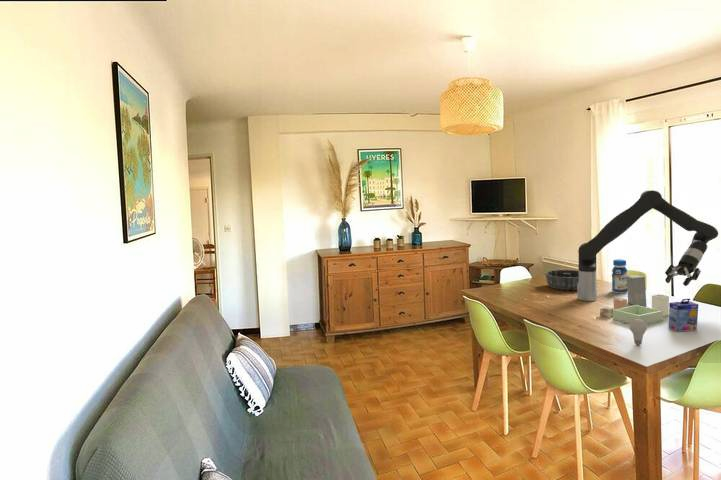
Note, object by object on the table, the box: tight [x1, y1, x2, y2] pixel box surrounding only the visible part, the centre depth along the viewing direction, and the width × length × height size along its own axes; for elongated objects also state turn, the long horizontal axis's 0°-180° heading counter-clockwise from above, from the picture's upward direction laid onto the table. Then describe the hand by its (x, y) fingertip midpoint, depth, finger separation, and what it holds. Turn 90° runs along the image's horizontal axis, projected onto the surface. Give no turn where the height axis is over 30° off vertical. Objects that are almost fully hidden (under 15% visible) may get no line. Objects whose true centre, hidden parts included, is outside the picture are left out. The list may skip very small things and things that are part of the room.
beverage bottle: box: [611, 258, 629, 294], centre depth 264 cm, size 8×8×20 cm
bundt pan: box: [544, 269, 579, 291], centre depth 284 cm, size 26×26×10 cm
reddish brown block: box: [613, 297, 628, 310], centre depth 222 cm, size 6×6×7 cm
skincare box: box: [626, 274, 647, 307], centre depth 236 cm, size 8×7×16 cm
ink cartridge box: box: [668, 298, 699, 333], centre depth 191 cm, size 10×6×14 cm, turn 95°
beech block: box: [599, 305, 614, 319], centre depth 218 cm, size 4×4×4 cm
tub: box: [612, 305, 664, 326], centre depth 209 cm, size 13×16×5 cm
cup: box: [651, 293, 670, 318], centre depth 214 cm, size 5×5×10 cm
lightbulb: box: [628, 319, 648, 346], centre depth 176 cm, size 6×6×11 cm
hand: (675, 283), depth 217 cm, fingers open, 8 cm apart
